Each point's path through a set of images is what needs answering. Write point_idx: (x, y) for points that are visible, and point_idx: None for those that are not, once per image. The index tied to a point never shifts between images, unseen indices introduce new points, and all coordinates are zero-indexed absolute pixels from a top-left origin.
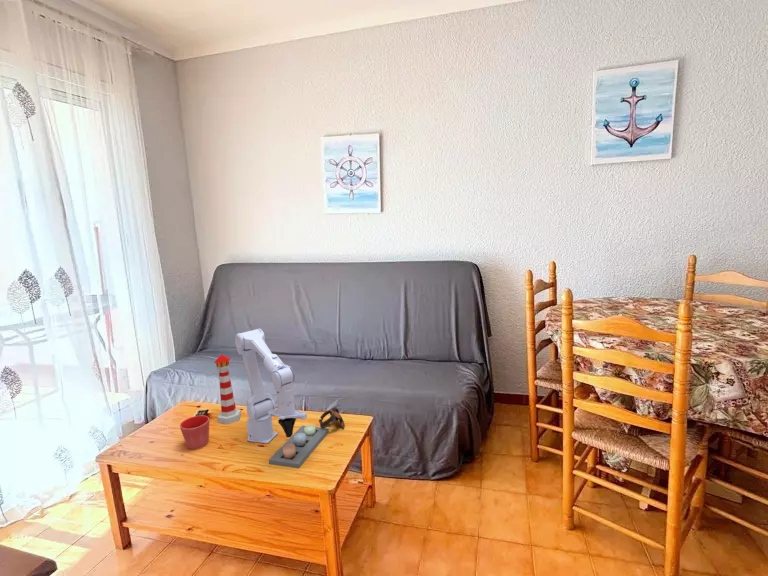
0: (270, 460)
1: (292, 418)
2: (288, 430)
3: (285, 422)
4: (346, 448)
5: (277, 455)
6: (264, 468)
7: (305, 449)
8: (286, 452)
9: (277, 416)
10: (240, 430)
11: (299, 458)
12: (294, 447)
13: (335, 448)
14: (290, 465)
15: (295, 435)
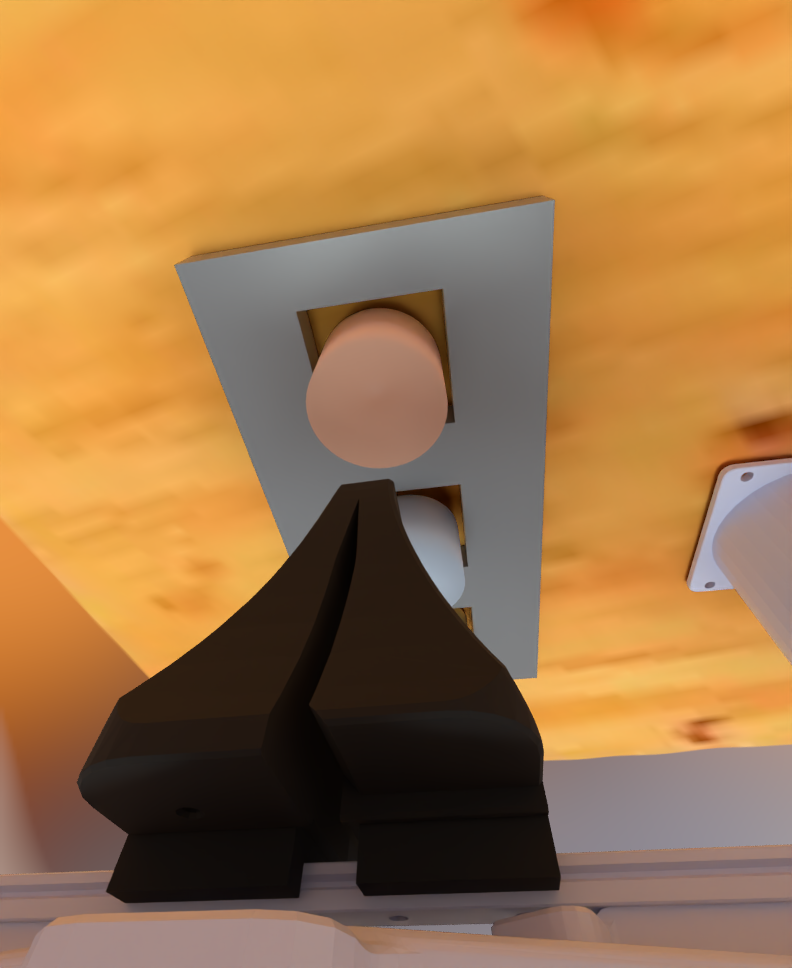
0: (526, 204)
1: (126, 870)
2: (302, 557)
3: (221, 723)
4: (102, 583)
5: (499, 317)
6: (544, 82)
7: (306, 482)
8: (358, 332)
9: (588, 957)
10: None
11: (246, 355)
12: (310, 423)
13: (164, 565)
14: (276, 243)
15: (451, 577)
